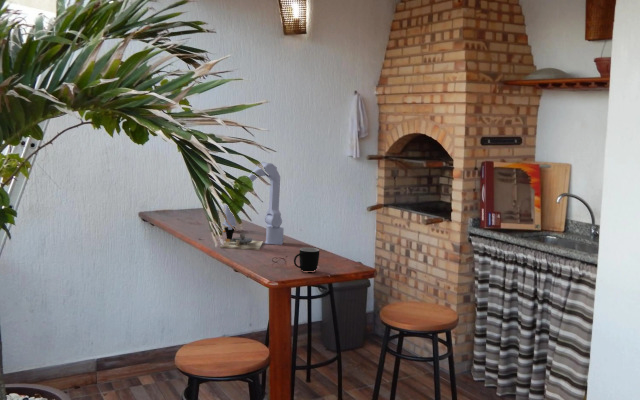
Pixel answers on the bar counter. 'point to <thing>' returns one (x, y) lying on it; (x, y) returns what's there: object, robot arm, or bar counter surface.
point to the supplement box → (222, 220)
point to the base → (243, 244)
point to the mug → (308, 259)
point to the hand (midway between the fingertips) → (229, 240)
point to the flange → (239, 240)
